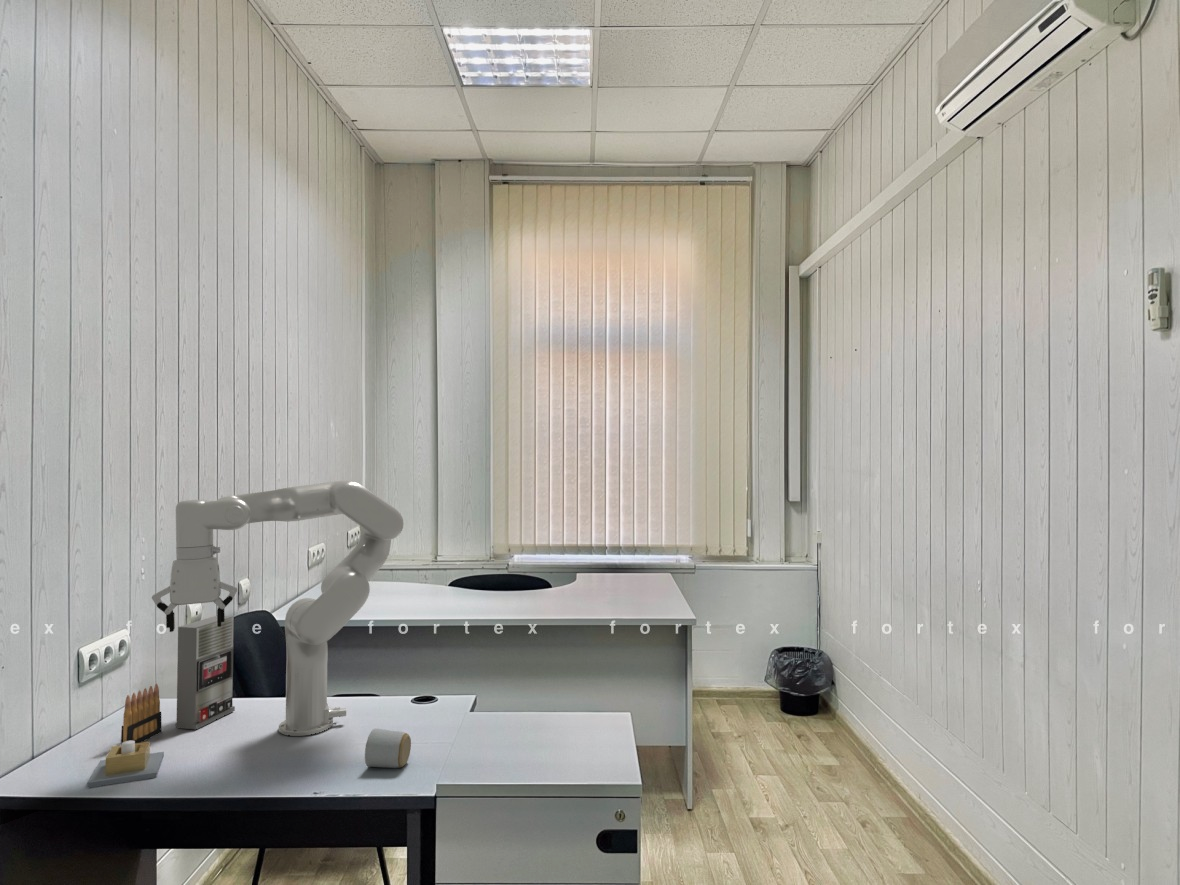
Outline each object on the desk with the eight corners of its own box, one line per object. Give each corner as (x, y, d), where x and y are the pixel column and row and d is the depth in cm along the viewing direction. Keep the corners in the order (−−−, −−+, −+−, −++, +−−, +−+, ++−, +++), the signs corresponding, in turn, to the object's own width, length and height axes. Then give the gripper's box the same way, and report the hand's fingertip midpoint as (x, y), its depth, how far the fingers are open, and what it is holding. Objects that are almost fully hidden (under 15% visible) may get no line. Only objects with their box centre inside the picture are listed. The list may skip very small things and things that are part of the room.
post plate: (163, 756, 162) (164, 729, 162) (156, 777, 151) (156, 748, 152) (100, 765, 157) (100, 737, 158) (87, 787, 146) (88, 757, 147)
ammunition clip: (127, 749, 166) (128, 696, 167) (120, 748, 167) (121, 696, 167) (161, 732, 177) (162, 682, 177) (155, 731, 177) (155, 682, 177)
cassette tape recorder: (197, 730, 178) (198, 628, 179) (175, 728, 179) (177, 626, 180) (235, 711, 191) (236, 616, 192) (215, 710, 193) (216, 615, 193)
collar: (149, 757, 159) (149, 741, 159) (144, 769, 153) (145, 753, 153) (111, 762, 156) (112, 746, 156) (105, 775, 150) (105, 758, 150)
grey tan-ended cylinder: (401, 773, 153) (401, 736, 154) (363, 772, 154) (364, 735, 154) (416, 754, 164) (417, 720, 164) (381, 753, 164) (382, 719, 165)
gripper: (237, 549, 174) (238, 620, 174) (153, 554, 167) (154, 629, 167) (236, 552, 167) (237, 627, 167) (149, 558, 160) (150, 636, 160)
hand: (196, 628), depth 167 cm, fingers open, 9 cm apart
